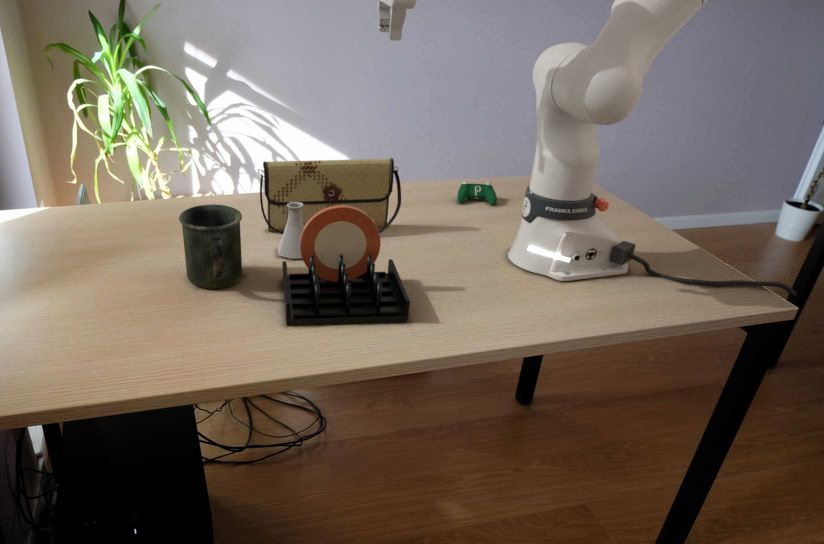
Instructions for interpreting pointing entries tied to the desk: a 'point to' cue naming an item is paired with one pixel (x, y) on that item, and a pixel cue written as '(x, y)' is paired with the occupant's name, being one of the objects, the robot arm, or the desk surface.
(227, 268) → the mug
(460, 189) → the gaming controller
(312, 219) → the plate
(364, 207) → the clutch purse
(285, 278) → the rack
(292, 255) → the flask
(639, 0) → the robot arm
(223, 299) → the desk surface
